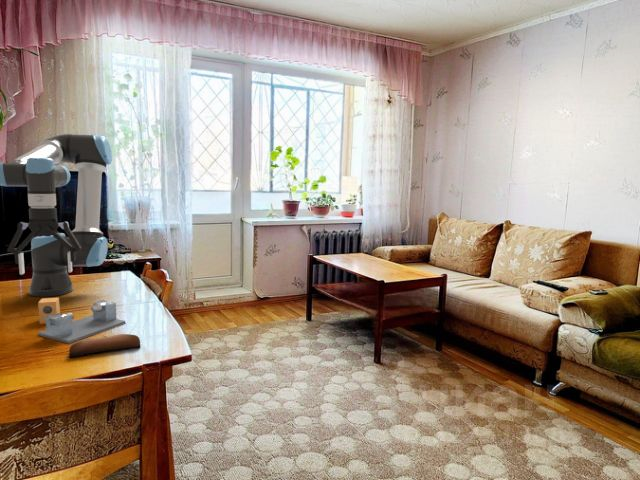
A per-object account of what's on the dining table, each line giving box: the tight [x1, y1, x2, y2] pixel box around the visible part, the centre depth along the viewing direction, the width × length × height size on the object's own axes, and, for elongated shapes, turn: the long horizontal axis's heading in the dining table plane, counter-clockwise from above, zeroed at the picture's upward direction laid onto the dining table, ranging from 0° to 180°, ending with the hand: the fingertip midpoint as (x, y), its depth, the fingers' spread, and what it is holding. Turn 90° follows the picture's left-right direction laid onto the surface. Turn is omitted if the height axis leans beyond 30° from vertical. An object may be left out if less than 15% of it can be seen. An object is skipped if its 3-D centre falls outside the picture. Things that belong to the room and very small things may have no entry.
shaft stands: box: [45, 299, 118, 338], centre depth 142 cm, size 6×20×6 cm, turn 155°
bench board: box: [37, 314, 126, 344], centre depth 142 cm, size 14×20×1 cm
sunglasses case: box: [68, 333, 141, 359], centre depth 128 cm, size 18×7×7 cm
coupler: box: [37, 297, 61, 325], centre depth 149 cm, size 5×5×7 cm
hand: (46, 272), depth 146 cm, fingers open, 13 cm apart
